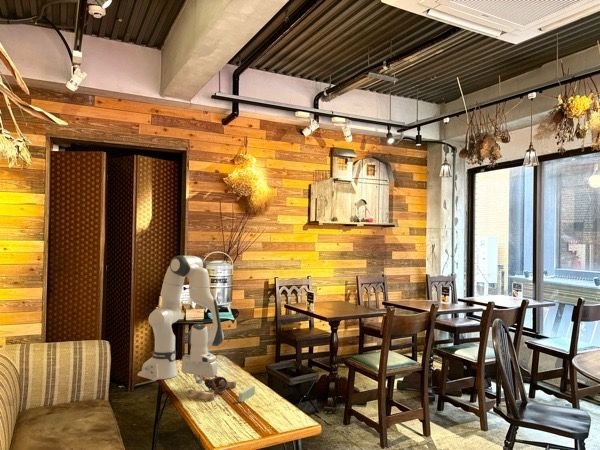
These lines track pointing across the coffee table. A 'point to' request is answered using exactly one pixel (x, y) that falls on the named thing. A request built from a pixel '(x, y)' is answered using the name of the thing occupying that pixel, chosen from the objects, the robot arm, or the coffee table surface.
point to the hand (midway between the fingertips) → (198, 383)
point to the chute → (206, 394)
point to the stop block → (246, 393)
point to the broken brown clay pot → (216, 384)
